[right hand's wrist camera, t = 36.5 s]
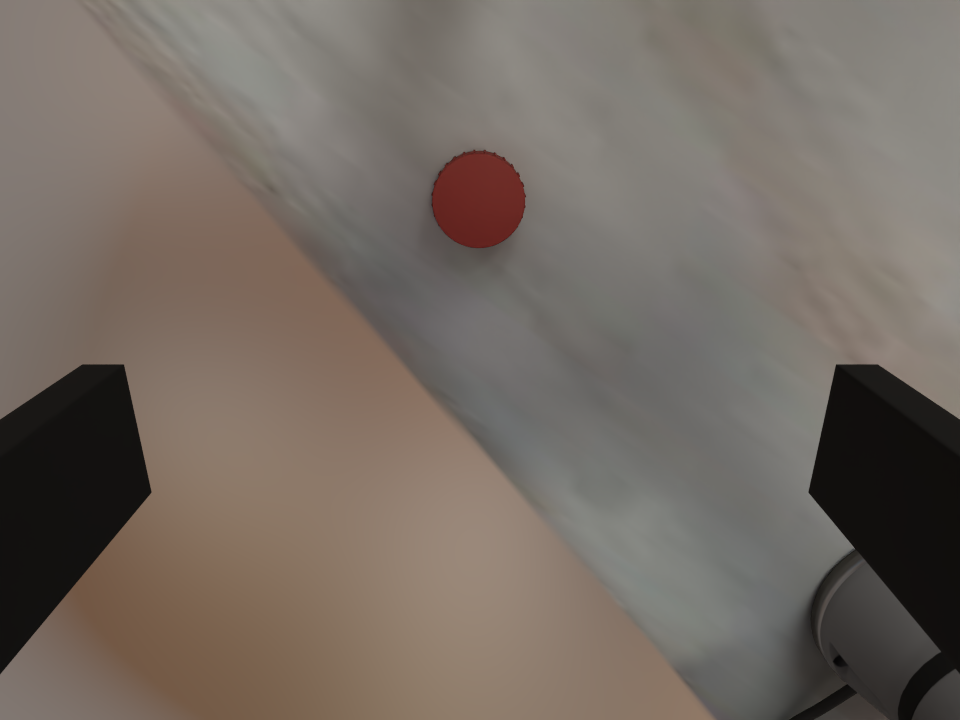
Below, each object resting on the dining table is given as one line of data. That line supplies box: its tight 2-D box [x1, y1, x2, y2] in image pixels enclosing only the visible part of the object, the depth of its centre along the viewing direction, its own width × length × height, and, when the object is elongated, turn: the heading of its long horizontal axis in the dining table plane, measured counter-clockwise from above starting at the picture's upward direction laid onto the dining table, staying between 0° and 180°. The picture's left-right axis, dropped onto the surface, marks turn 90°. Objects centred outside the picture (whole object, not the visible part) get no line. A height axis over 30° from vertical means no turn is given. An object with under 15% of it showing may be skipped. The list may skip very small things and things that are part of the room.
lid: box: [432, 150, 526, 248], centre depth 39 cm, size 6×6×2 cm
